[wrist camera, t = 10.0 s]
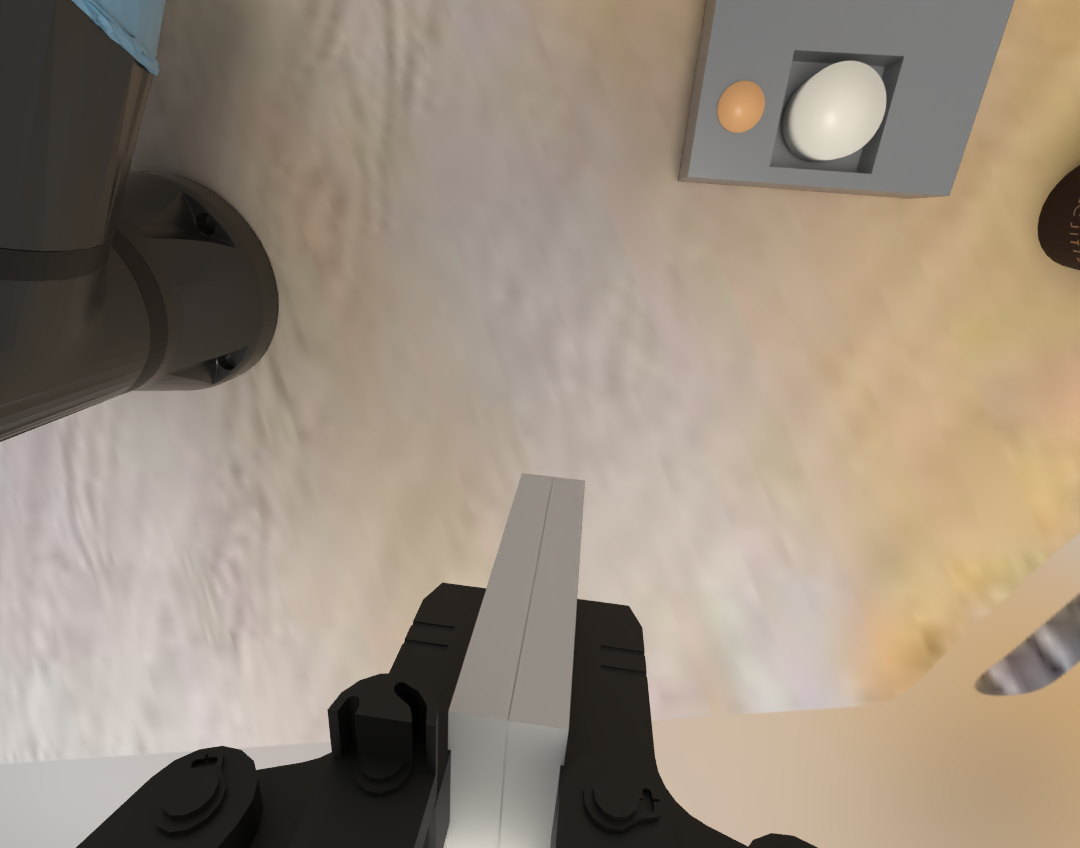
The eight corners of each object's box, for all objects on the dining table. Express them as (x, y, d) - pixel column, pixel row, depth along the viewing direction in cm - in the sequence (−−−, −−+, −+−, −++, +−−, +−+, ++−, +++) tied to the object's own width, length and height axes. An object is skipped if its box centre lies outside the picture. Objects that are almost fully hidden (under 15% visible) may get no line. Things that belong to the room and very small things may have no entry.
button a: (774, 159, 30) (785, 155, 28) (793, 68, 28) (807, 58, 27) (854, 165, 30) (871, 161, 28) (878, 73, 28) (898, 63, 26)
